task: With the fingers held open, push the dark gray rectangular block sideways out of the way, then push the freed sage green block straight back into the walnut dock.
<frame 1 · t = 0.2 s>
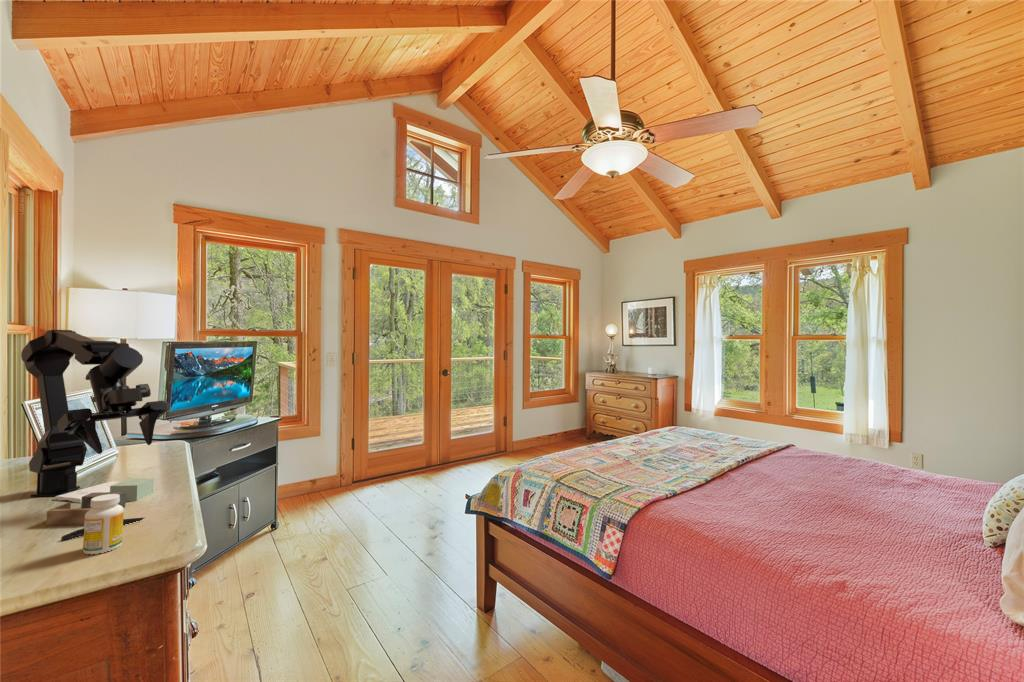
hand: (126, 448, 100), 14 cm above the dresser top, tool tilted 30°, fingers open, 9 cm apart
walnut dock: (83, 519, 95), on the dresser top
supplement bottle: (103, 549, 81), on the dresser top
sage block: (132, 497, 109), on the dresser top
folding knife: (106, 533, 90), on the dresser top
external hard drive: (96, 496, 112), on the dresser top
dark gray rectangular block: (103, 502, 100), point 2 cm above the dresser top, slide at 0.0 cm
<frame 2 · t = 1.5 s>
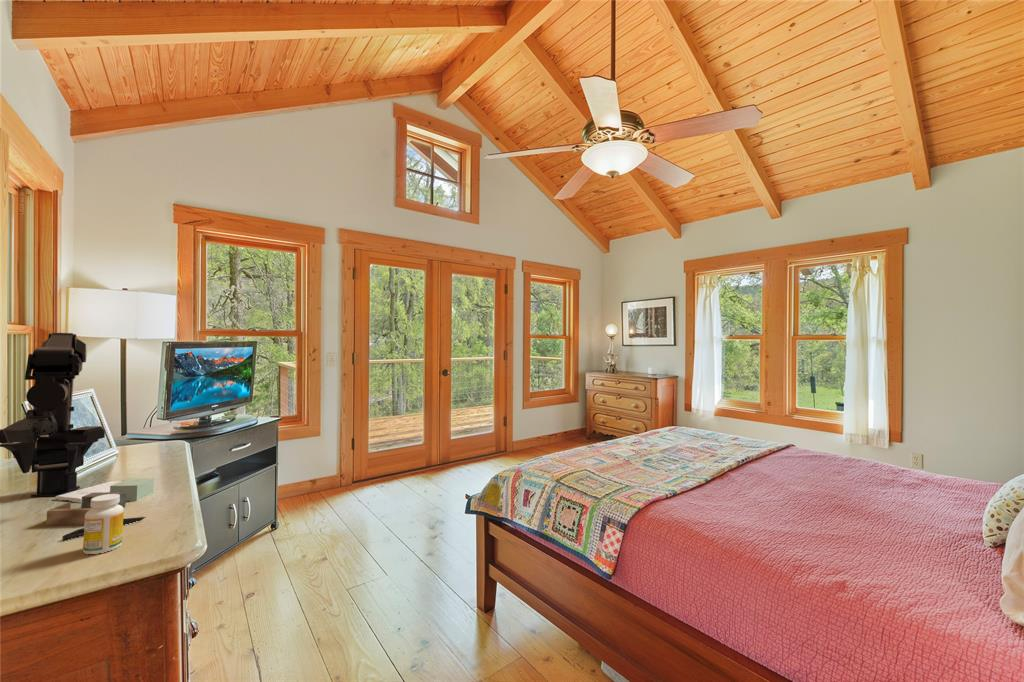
hand: (48, 472, 99), 9 cm above the dresser top, tool pointing down, fingers open, 9 cm apart
nothing on the dresser top moved.
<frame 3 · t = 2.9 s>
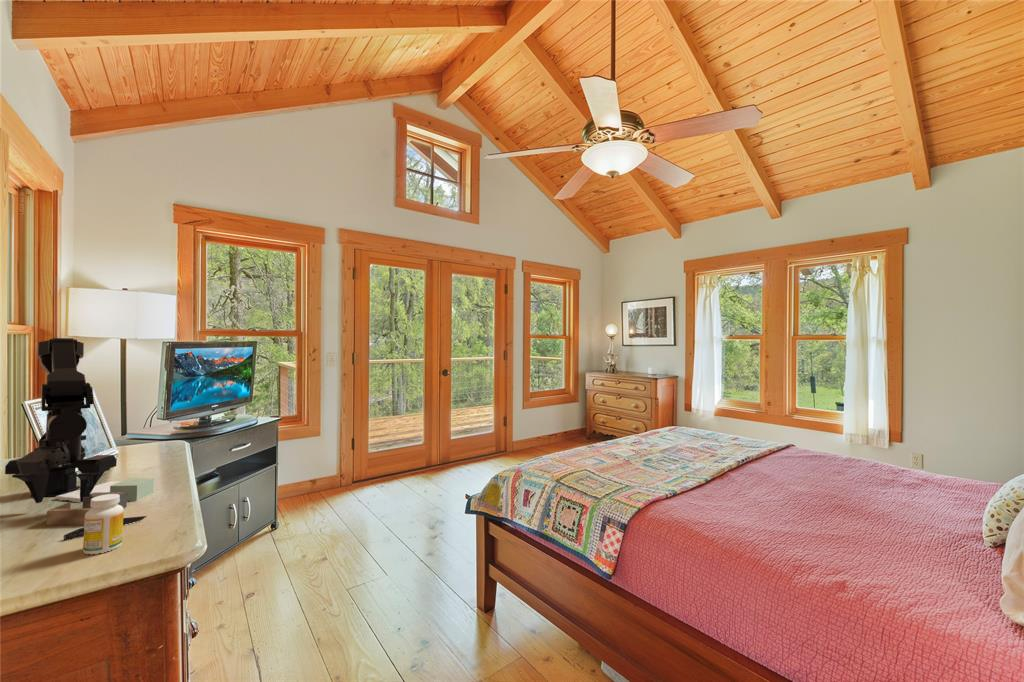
hand: (61, 502, 99), 2 cm above the dresser top, tool pointing down, fingers open, 9 cm apart
dark gray rectangular block: (105, 502, 100), point 2 cm above the dresser top, slide at 0.3 cm, touching gripper
everything else where it was.
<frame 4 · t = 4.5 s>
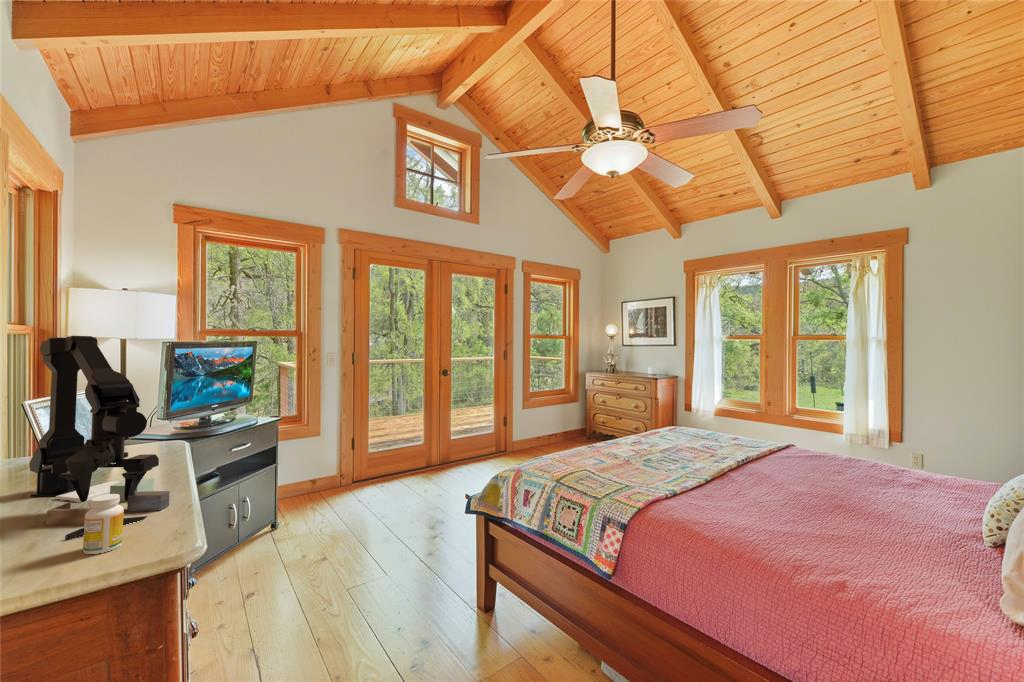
hand: (105, 501, 100), 2 cm above the dresser top, tool pointing down, fingers open, 9 cm apart
dark gray rectangular block: (148, 500, 102), point 2 cm above the dresser top, slide at 9.4 cm, touching gripper
everything else where it was.
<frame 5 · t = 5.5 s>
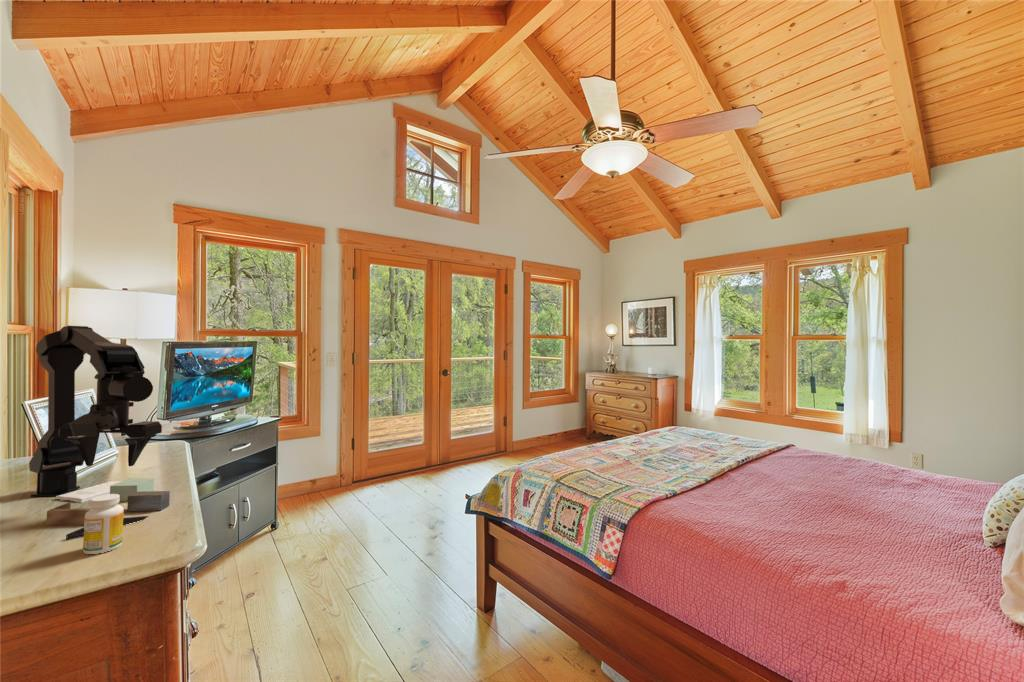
hand: (110, 465, 102), 10 cm above the dresser top, tool pointing down, fingers open, 9 cm apart
dark gray rectangular block: (148, 500, 102), point 2 cm above the dresser top, slide at 9.5 cm
everything else where it was.
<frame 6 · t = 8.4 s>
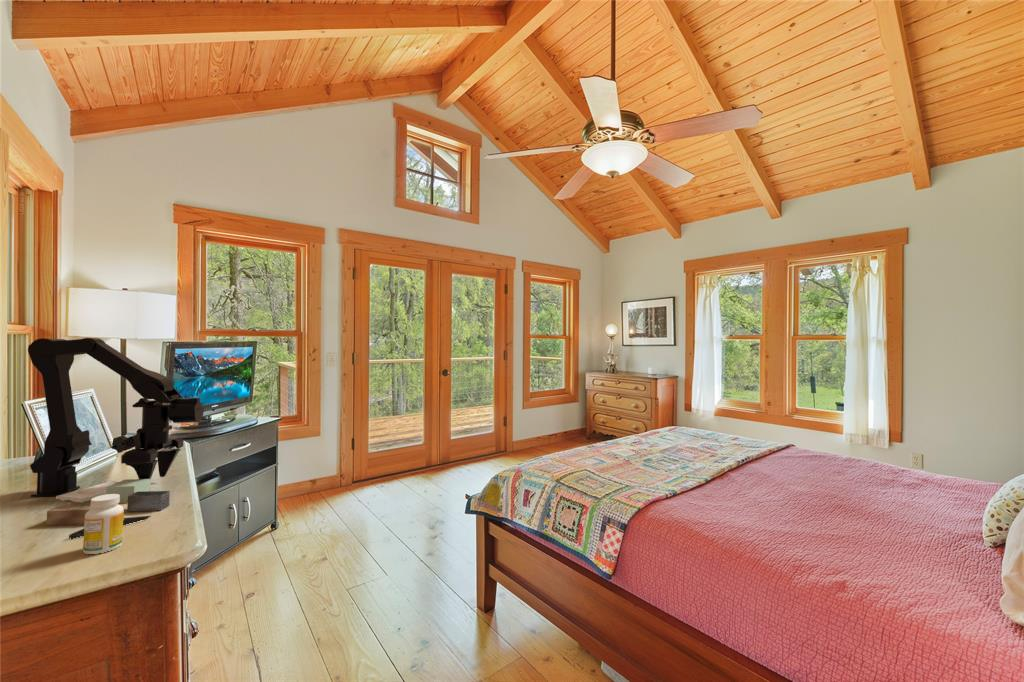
hand: (153, 481, 117), 2 cm above the dresser top, tool pointing down, fingers open, 8 cm apart
sage block: (128, 498, 108), on the dresser top, touching gripper
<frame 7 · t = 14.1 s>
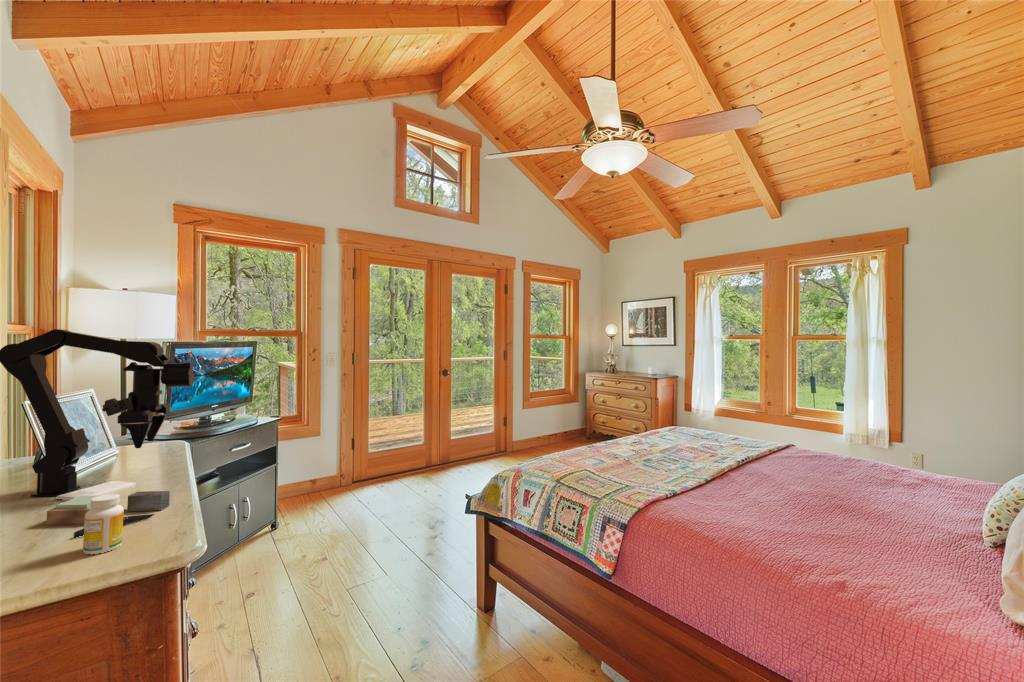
hand: (144, 444, 119), 11 cm above the dresser top, tool pointing down, fingers open, 9 cm apart
sage block: (83, 518, 96), on the dresser top
at the end: dark gray rectangular block slide at 9.5 cm; sage block 1.0 cm from the target spot, on the dresser top; sage block tilted 0° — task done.
